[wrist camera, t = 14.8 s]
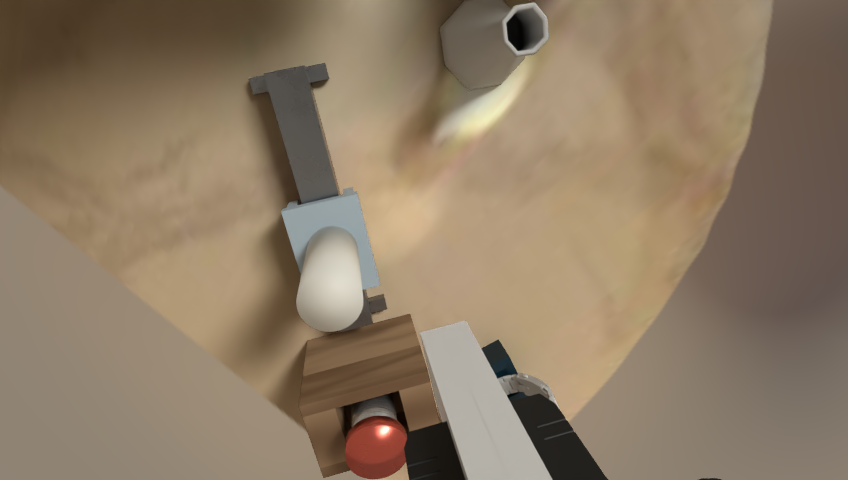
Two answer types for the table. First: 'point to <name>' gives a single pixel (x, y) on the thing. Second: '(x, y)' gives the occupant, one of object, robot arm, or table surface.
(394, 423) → the button plunger
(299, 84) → the rail
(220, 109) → the table surface
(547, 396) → the watch
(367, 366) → the wooden button housing
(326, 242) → the carriage
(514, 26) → the flask
